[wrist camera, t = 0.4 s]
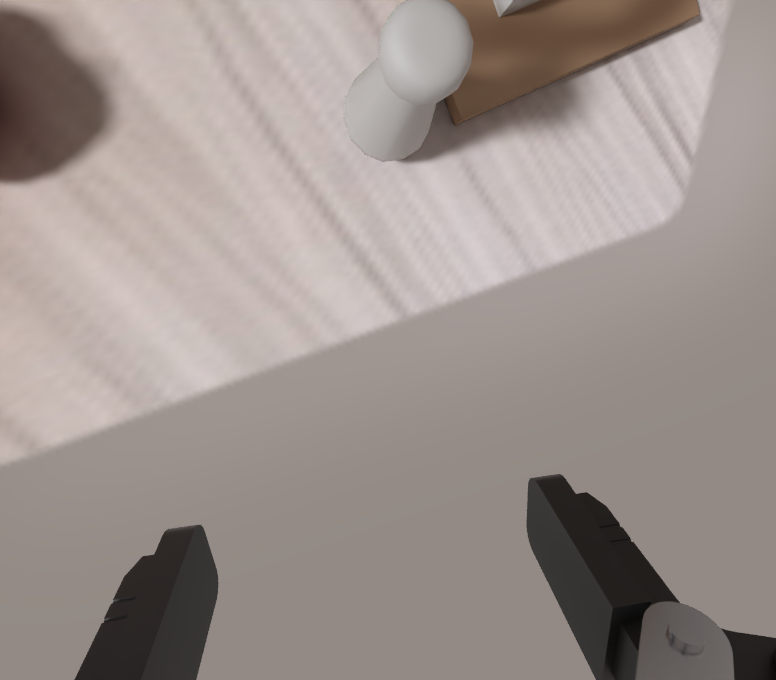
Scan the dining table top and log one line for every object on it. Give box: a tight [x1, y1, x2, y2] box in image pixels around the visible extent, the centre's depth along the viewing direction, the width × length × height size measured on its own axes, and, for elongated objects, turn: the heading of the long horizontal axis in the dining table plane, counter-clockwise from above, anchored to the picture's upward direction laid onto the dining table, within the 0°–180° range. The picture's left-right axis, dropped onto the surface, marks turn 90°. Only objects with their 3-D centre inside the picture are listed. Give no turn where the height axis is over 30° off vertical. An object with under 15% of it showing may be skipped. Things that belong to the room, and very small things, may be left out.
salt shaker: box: [344, 0, 474, 162], centre depth 27 cm, size 6×6×13 cm
